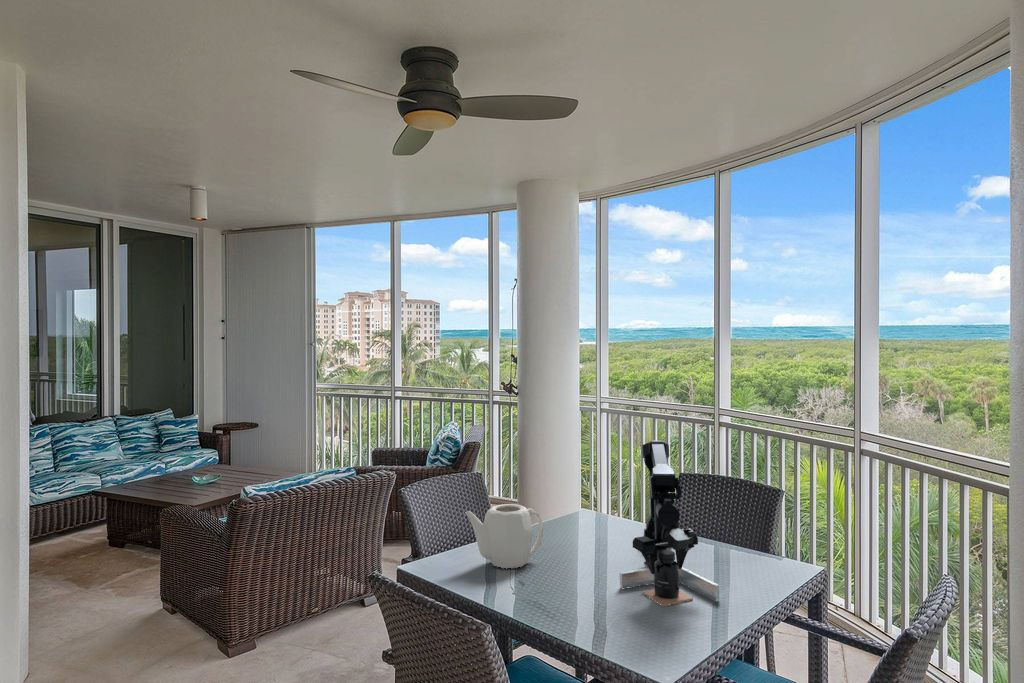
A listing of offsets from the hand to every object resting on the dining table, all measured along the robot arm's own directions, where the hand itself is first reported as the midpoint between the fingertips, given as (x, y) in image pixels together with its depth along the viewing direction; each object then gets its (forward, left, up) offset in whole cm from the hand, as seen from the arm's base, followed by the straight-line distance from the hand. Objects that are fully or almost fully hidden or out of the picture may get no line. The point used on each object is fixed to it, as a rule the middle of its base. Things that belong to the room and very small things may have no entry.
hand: (666, 571), depth 173 cm
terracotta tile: (0, 0, -7) cm, 7 cm away
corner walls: (-1, +1, -7) cm, 7 cm away
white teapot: (-45, -32, -7) cm, 56 cm away
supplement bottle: (0, 0, -7) cm, 7 cm away
